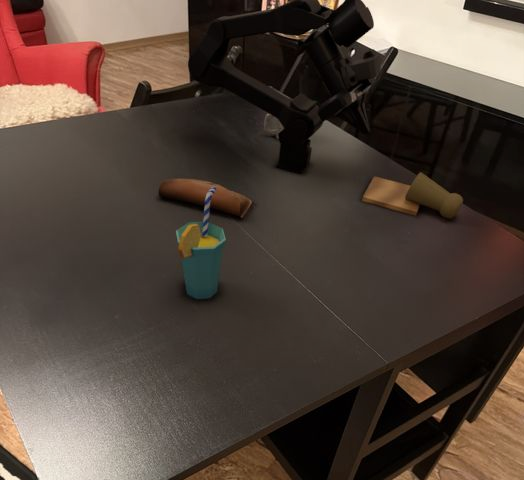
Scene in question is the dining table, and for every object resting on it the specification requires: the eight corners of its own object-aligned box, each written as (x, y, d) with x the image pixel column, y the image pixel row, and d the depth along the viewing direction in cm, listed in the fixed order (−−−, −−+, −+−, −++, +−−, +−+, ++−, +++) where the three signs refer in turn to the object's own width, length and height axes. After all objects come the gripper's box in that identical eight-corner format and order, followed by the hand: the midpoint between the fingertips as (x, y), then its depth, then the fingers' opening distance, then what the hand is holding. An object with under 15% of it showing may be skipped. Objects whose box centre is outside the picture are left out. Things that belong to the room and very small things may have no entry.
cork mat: (361, 200, 105) (362, 196, 104) (373, 180, 112) (374, 176, 111) (415, 215, 102) (417, 211, 102) (423, 193, 110) (425, 189, 109)
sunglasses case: (254, 199, 100) (250, 180, 94) (243, 228, 99) (239, 211, 92) (175, 179, 103) (167, 160, 97) (164, 207, 102) (154, 190, 95)
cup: (191, 258, 85) (189, 178, 74) (234, 265, 85) (238, 187, 74) (167, 308, 76) (161, 225, 65) (215, 317, 75) (216, 235, 64)
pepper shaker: (413, 189, 107) (457, 213, 105) (401, 203, 104) (446, 228, 102) (424, 167, 102) (470, 191, 100) (412, 181, 99) (460, 206, 97)
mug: (298, 131, 127) (302, 105, 123) (303, 142, 123) (307, 115, 118) (261, 130, 126) (263, 103, 121) (264, 141, 121) (267, 114, 117)
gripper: (345, 46, 84) (387, 127, 89) (378, 26, 96) (413, 99, 101) (299, 84, 92) (340, 156, 97) (334, 61, 104) (369, 127, 109)
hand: (367, 133), depth 101 cm, fingers closed
